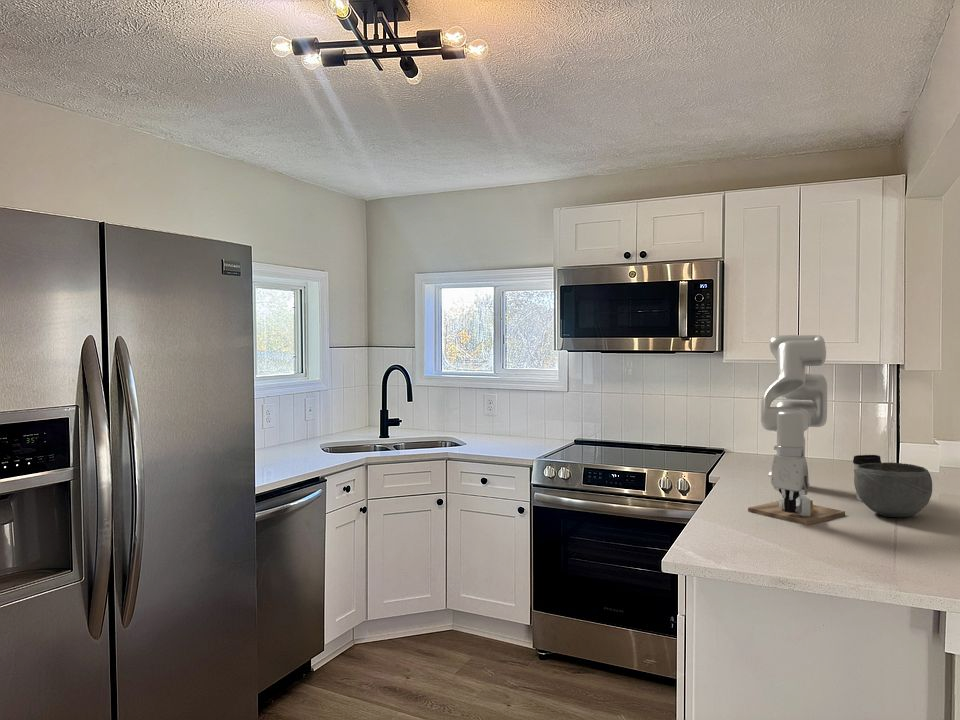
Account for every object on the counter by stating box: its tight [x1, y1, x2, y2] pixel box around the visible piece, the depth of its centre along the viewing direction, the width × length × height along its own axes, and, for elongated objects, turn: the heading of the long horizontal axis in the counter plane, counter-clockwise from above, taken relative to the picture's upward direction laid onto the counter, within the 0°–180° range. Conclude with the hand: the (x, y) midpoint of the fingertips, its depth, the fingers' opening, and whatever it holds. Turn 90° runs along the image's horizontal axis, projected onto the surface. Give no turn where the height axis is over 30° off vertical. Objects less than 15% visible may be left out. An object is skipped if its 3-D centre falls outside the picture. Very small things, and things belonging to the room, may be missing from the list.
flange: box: [778, 495, 811, 516], centre depth 218 cm, size 9×14×5 cm, turn 173°
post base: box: [747, 490, 846, 526], centre depth 221 cm, size 20×20×7 cm
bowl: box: [853, 462, 933, 518], centre depth 217 cm, size 21×21×15 cm
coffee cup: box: [852, 454, 882, 502], centre depth 237 cm, size 8×8×15 cm
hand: (790, 511), depth 215 cm, fingers closed
